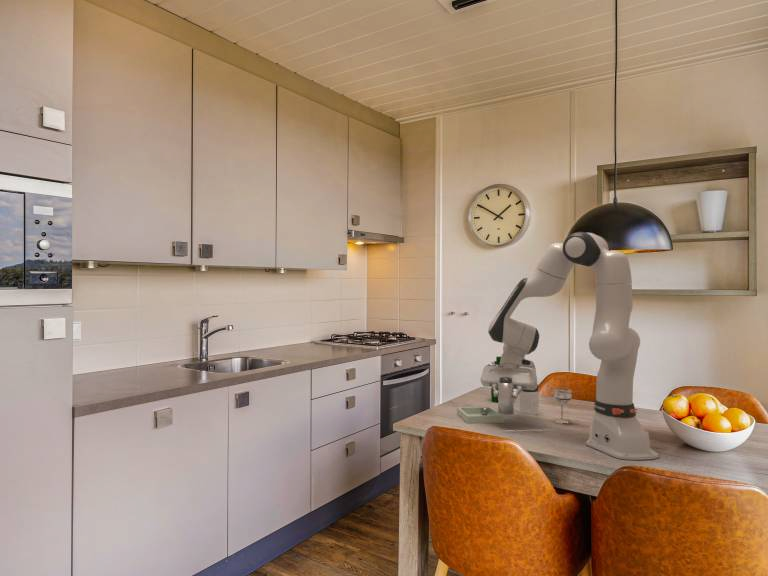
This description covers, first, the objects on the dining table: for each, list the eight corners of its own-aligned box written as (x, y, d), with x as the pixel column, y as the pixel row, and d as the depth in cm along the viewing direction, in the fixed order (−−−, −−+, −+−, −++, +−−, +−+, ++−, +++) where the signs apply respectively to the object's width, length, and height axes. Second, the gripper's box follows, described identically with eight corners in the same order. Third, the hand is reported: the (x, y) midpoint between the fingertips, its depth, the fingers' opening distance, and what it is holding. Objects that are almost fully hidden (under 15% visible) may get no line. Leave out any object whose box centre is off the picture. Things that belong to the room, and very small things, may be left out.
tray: (503, 424, 194) (503, 415, 194) (467, 425, 192) (467, 416, 192) (490, 414, 208) (491, 406, 208) (456, 415, 206) (456, 407, 206)
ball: (489, 415, 203) (490, 408, 203) (482, 416, 203) (482, 408, 203) (487, 414, 206) (487, 406, 206) (480, 414, 206) (480, 406, 206)
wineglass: (557, 418, 204) (557, 388, 204) (574, 422, 199) (574, 390, 199) (549, 421, 199) (550, 390, 199) (566, 425, 194) (567, 393, 194)
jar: (527, 416, 206) (528, 386, 206) (511, 412, 213) (512, 383, 213) (542, 413, 211) (543, 384, 211) (526, 409, 218) (527, 380, 218)
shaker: (515, 414, 185) (515, 379, 185) (501, 414, 184) (501, 379, 184) (510, 410, 190) (510, 376, 190) (496, 411, 190) (495, 377, 190)
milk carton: (488, 401, 231) (489, 356, 231) (495, 398, 239) (496, 354, 238) (507, 404, 226) (508, 358, 226) (514, 400, 234) (515, 356, 234)
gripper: (482, 359, 198) (475, 389, 189) (537, 362, 189) (532, 394, 180) (486, 369, 202) (478, 399, 193) (540, 372, 193) (535, 404, 184)
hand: (505, 396), depth 187 cm, fingers closed on shaker, 5 cm apart
